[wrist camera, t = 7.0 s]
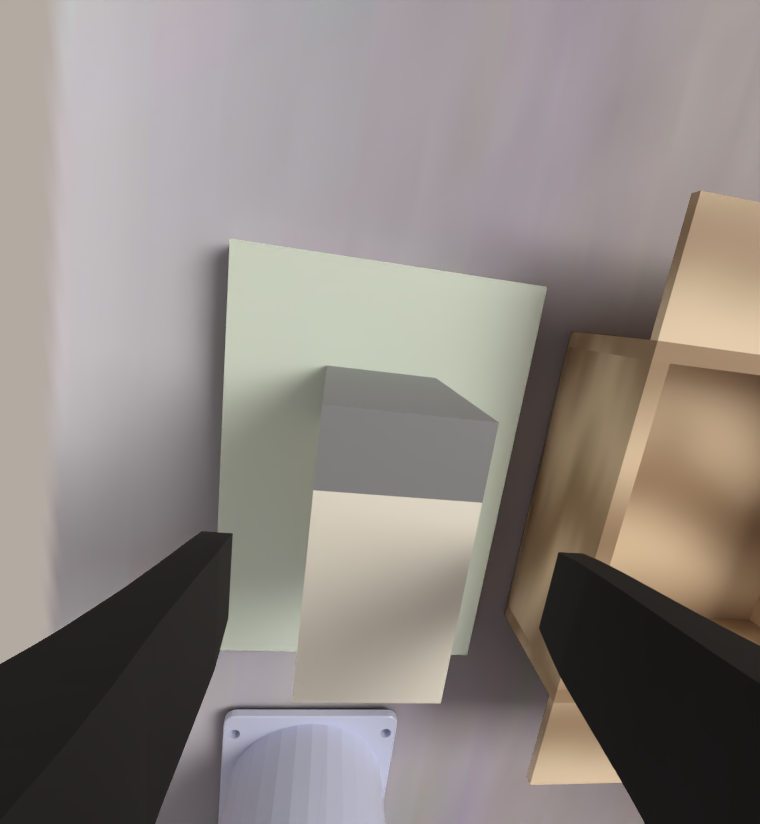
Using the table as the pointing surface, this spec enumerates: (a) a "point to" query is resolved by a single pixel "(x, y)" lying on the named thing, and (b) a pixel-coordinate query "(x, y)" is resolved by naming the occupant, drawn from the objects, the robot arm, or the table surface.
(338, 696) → the block
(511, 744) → the table surface
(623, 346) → the light wood shallow tray
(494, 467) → the board
